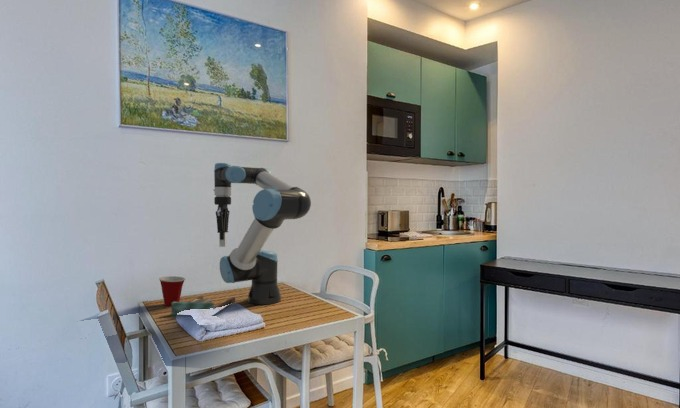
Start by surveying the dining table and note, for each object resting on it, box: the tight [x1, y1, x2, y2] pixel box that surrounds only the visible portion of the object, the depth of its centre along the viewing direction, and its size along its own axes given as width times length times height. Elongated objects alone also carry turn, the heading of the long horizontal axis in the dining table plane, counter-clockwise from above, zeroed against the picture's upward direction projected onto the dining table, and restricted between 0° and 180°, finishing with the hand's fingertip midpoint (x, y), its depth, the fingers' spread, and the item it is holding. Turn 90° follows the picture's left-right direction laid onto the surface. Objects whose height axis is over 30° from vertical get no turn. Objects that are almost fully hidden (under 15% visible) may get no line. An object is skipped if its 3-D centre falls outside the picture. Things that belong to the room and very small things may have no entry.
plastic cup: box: [158, 275, 186, 307], centre depth 176 cm, size 11×11×12 cm
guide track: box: [171, 295, 236, 316], centre depth 170 cm, size 17×24×5 cm
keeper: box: [190, 298, 213, 303], centre depth 165 cm, size 7×7×4 cm
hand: (222, 246), depth 186 cm, fingers closed
